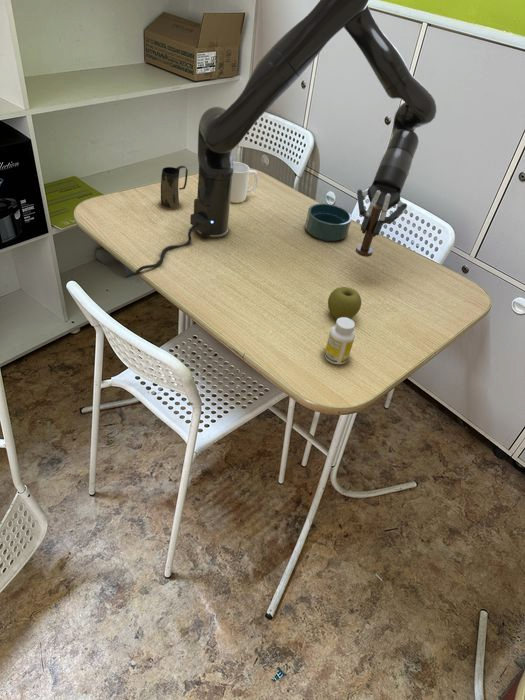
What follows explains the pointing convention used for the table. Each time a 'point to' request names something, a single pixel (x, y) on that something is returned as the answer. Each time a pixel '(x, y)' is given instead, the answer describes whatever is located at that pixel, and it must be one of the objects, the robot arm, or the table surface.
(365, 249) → the brown rod with base
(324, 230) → the bowl
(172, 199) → the mug
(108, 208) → the table surface
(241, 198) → the cup
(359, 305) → the apple
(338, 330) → the supplement bottle
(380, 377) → the table surface
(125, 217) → the table surface
